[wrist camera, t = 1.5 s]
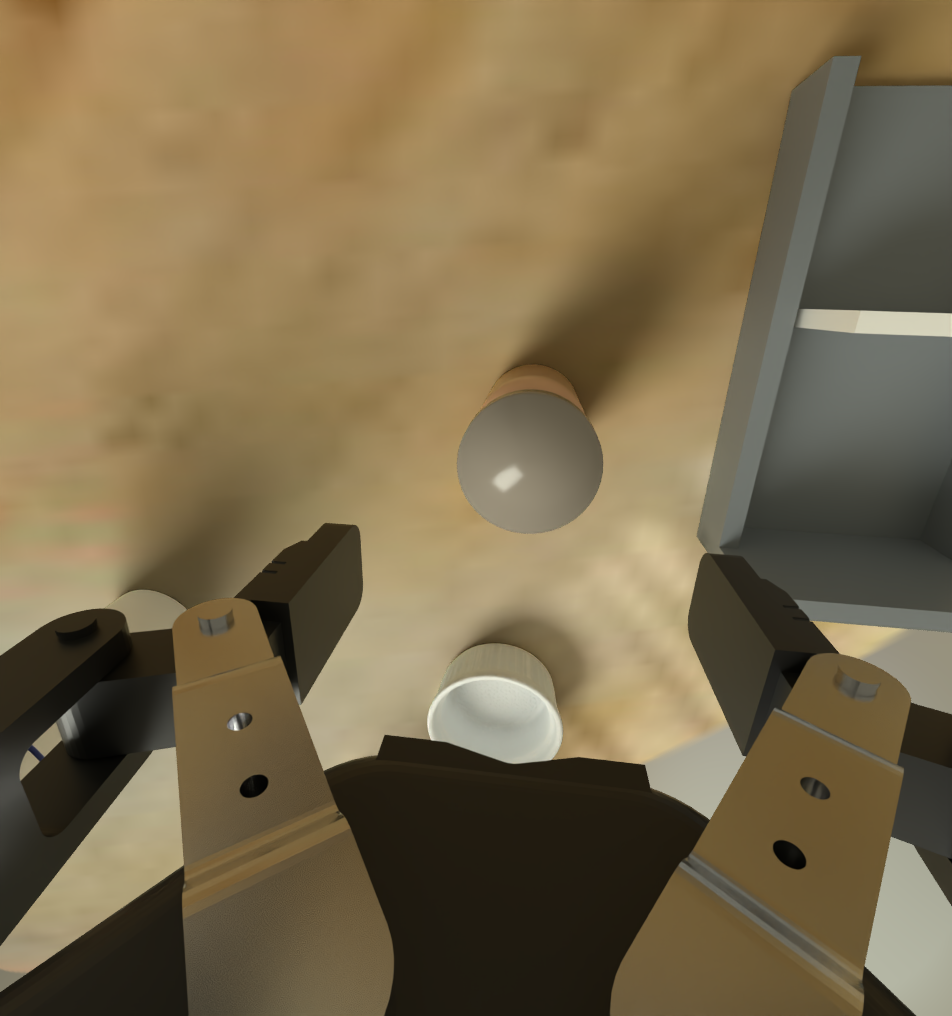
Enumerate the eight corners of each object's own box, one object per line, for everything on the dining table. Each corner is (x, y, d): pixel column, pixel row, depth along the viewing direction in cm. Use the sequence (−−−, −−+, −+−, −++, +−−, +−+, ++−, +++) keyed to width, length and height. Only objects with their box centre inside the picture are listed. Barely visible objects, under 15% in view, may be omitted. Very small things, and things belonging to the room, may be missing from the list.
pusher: (779, 308, 26) (860, 310, 19) (1001, 315, 25) (1165, 320, 18) (775, 325, 26) (854, 333, 19) (994, 332, 25) (1153, 344, 18)
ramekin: (583, 704, 37) (588, 753, 33) (482, 747, 40) (476, 797, 36) (516, 614, 35) (514, 654, 31) (414, 666, 37) (399, 709, 33)
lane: (791, 90, 23) (924, -19, 15) (1114, 89, 22) (1440, -31, 14) (696, 536, 31) (750, 615, 23) (926, 553, 30) (1063, 642, 22)
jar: (485, 360, 29) (458, 390, 19) (586, 364, 28) (612, 398, 18) (481, 456, 31) (455, 528, 21) (575, 462, 30) (593, 538, 21)
